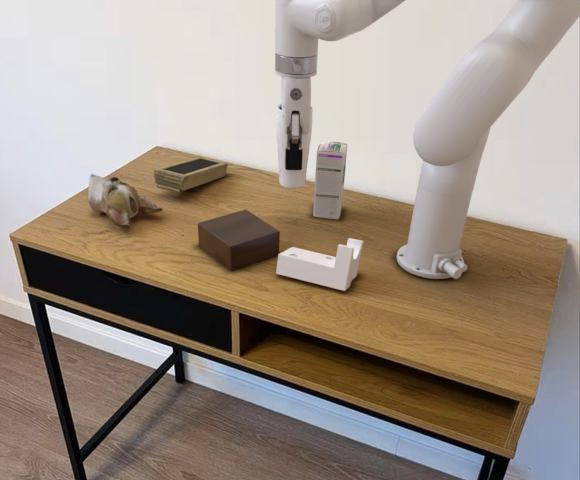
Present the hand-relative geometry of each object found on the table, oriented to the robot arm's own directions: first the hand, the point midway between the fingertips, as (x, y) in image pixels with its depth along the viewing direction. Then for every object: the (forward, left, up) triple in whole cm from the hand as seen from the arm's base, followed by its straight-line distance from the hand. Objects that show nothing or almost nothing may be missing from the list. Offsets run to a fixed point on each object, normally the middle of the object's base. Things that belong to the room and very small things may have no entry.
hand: (293, 162), depth 124 cm
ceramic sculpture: (+15, +31, -13) cm, 37 cm away
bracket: (-21, +4, -13) cm, 25 cm away
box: (+25, +11, -13) cm, 31 cm away
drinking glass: (0, 0, -5) cm, 5 cm away
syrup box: (+1, -10, -13) cm, 16 cm away
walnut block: (-7, +14, -13) cm, 21 cm away
